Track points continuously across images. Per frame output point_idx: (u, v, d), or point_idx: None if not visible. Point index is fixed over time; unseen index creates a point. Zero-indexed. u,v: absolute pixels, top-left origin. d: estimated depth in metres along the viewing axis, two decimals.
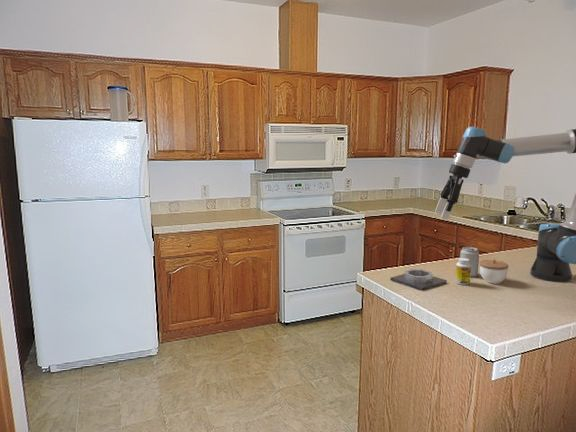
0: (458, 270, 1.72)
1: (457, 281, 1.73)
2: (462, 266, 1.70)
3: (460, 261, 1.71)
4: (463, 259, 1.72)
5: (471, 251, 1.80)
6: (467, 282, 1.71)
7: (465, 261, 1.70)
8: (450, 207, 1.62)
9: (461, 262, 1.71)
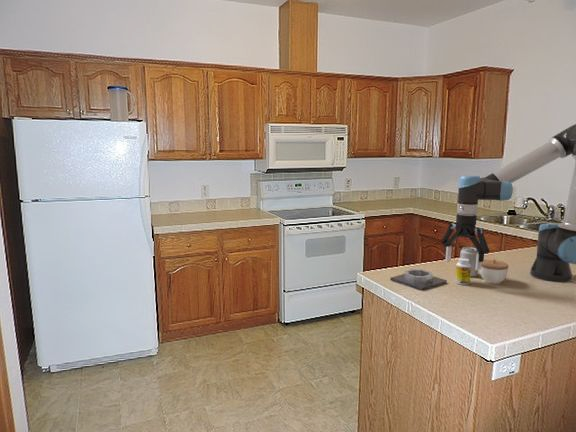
0: (458, 270, 1.72)
1: (457, 281, 1.73)
2: (462, 266, 1.70)
3: (460, 261, 1.71)
4: (463, 259, 1.72)
5: (471, 251, 1.80)
6: (467, 282, 1.71)
7: (465, 261, 1.70)
8: (483, 257, 1.65)
9: (461, 262, 1.71)
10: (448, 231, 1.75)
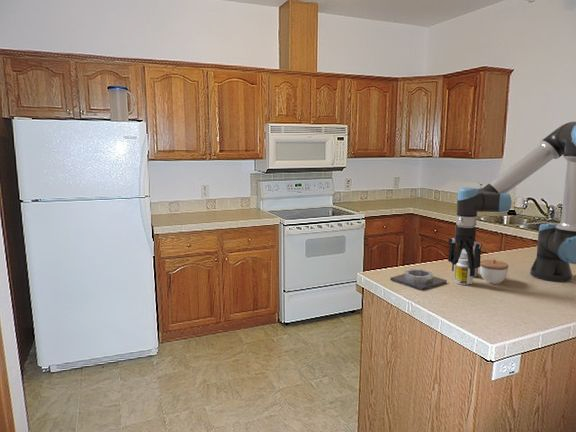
0: (458, 270, 1.72)
1: (457, 281, 1.73)
2: (462, 266, 1.70)
3: (460, 261, 1.71)
4: (463, 259, 1.72)
5: None
6: None
7: (465, 261, 1.70)
8: (474, 272, 1.69)
9: (461, 262, 1.71)
10: (450, 246, 1.75)
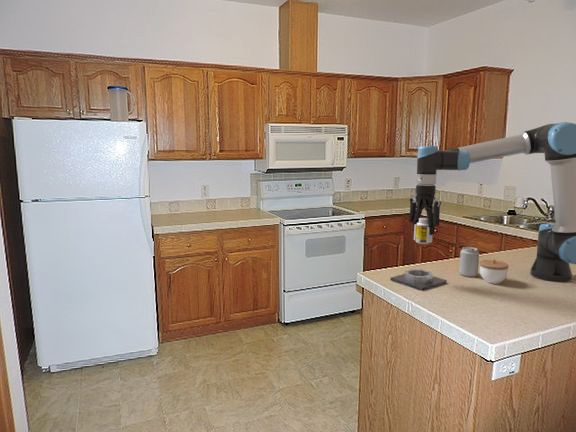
0: (418, 229, 1.71)
1: (417, 240, 1.72)
2: (422, 225, 1.70)
3: (420, 220, 1.71)
4: (423, 218, 1.71)
5: (471, 251, 1.80)
6: None
7: (425, 220, 1.70)
8: (433, 231, 1.69)
9: (421, 221, 1.71)
10: (411, 206, 1.75)
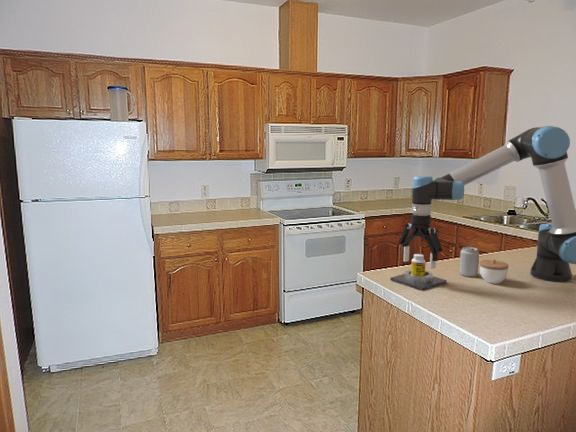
0: (413, 266, 1.74)
1: None
2: (416, 262, 1.73)
3: (415, 257, 1.74)
4: (418, 255, 1.74)
5: (471, 251, 1.80)
6: None
7: (419, 257, 1.73)
8: (436, 257, 1.68)
9: (415, 257, 1.74)
10: (405, 231, 1.78)
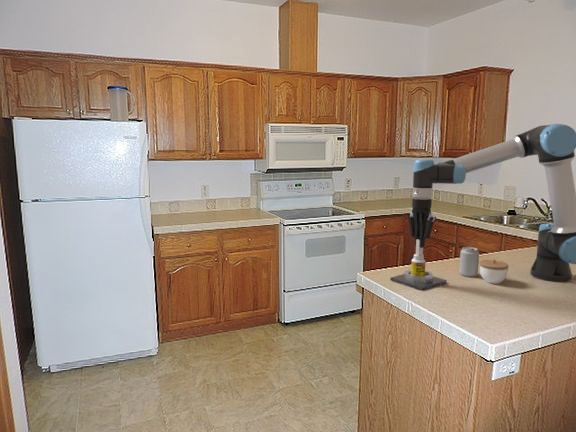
0: (413, 266, 1.74)
1: None
2: (416, 262, 1.73)
3: (415, 257, 1.74)
4: None
5: (471, 251, 1.80)
6: None
7: (419, 257, 1.73)
8: (423, 243, 1.72)
9: (415, 257, 1.74)
10: (410, 221, 1.75)
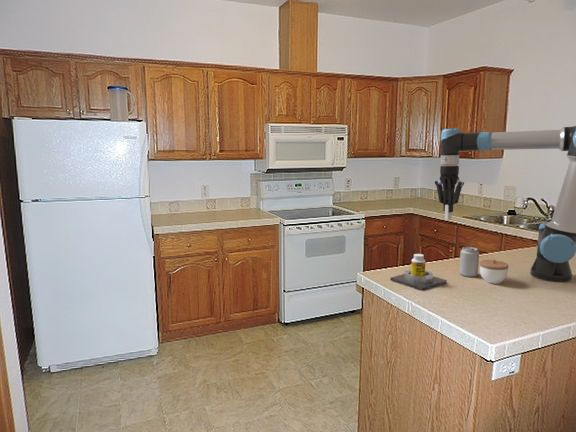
0: (413, 266, 1.74)
1: None
2: (416, 262, 1.73)
3: (415, 257, 1.74)
4: (418, 255, 1.74)
5: (471, 251, 1.80)
6: None
7: (419, 257, 1.73)
8: (452, 208, 1.83)
9: (415, 257, 1.74)
10: (438, 188, 1.86)
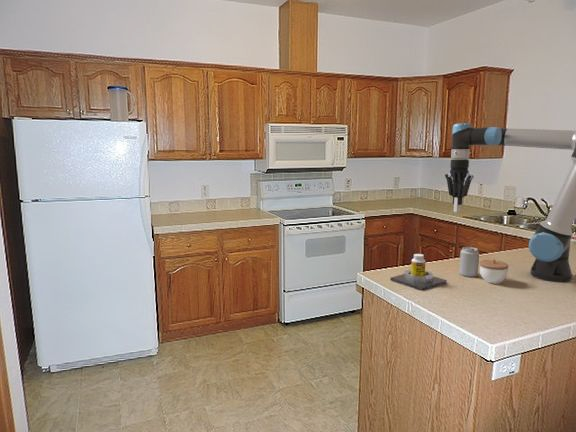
0: (413, 266, 1.74)
1: None
2: (416, 262, 1.73)
3: (415, 257, 1.74)
4: (418, 255, 1.74)
5: (471, 251, 1.80)
6: None
7: (419, 257, 1.73)
8: (461, 201, 1.88)
9: (415, 257, 1.74)
10: (448, 181, 1.91)
